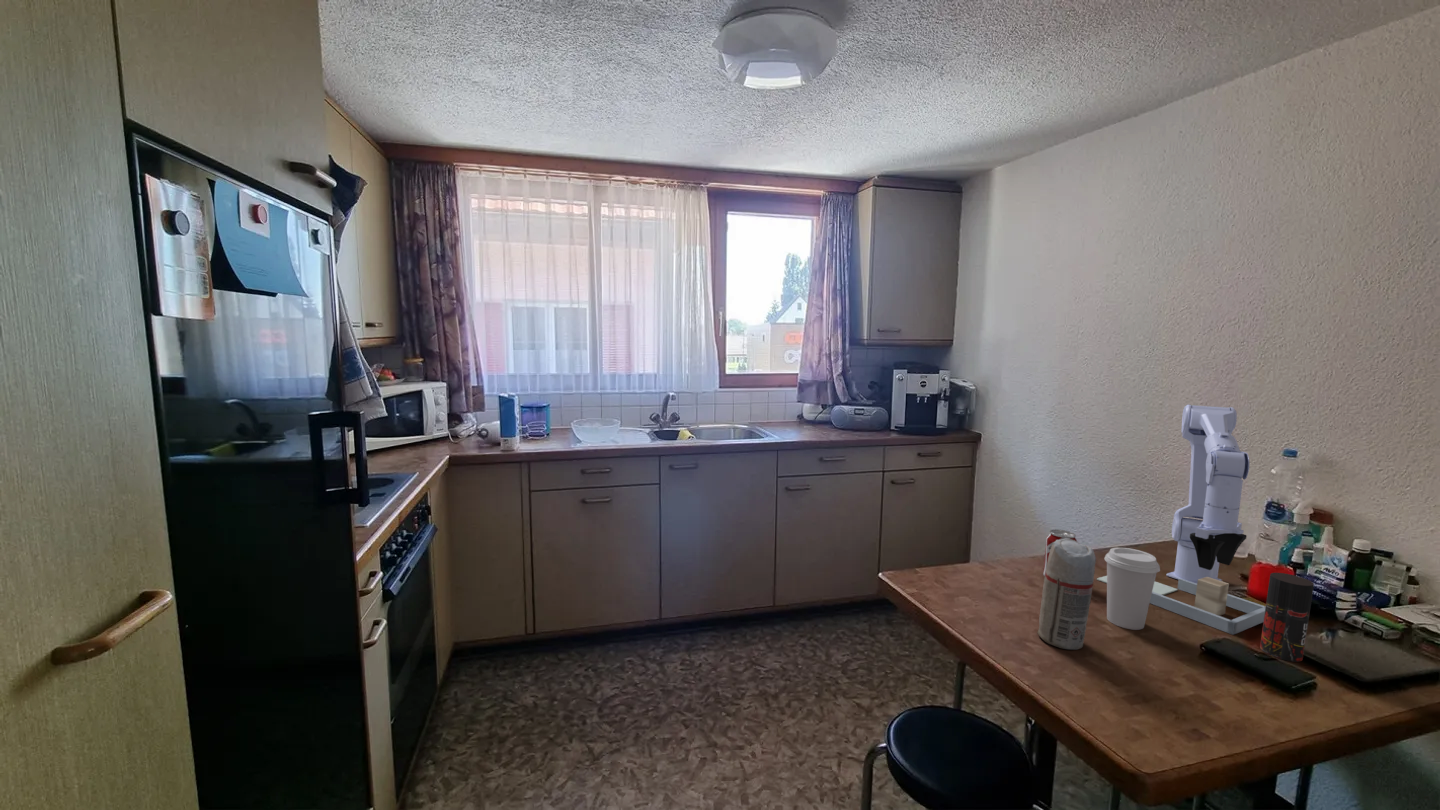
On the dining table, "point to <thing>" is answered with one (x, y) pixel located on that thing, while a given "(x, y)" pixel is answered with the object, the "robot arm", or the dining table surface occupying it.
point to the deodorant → (1286, 616)
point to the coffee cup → (1129, 586)
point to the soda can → (1052, 538)
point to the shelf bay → (1210, 619)
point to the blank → (1211, 595)
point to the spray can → (1067, 594)
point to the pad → (1157, 587)
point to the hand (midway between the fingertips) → (1214, 565)
